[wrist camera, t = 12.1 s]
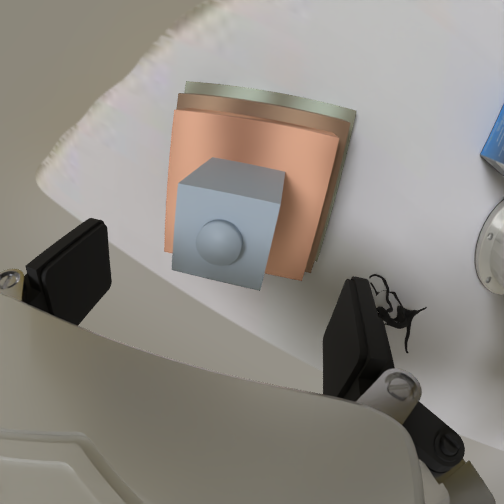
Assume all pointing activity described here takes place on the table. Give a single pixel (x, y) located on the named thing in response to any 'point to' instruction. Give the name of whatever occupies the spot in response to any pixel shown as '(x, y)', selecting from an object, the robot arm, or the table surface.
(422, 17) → the table surface
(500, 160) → the label tape box
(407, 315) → the creature
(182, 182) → the slate brick
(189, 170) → the stepped plate stack
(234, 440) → the robot arm
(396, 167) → the table surface
